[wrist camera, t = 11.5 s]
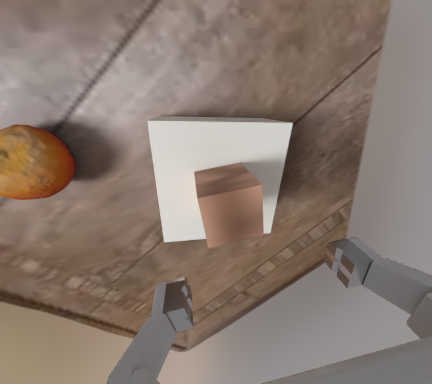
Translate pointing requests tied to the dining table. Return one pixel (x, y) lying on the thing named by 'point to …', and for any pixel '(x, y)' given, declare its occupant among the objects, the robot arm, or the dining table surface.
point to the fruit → (33, 163)
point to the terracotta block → (229, 204)
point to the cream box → (212, 163)
